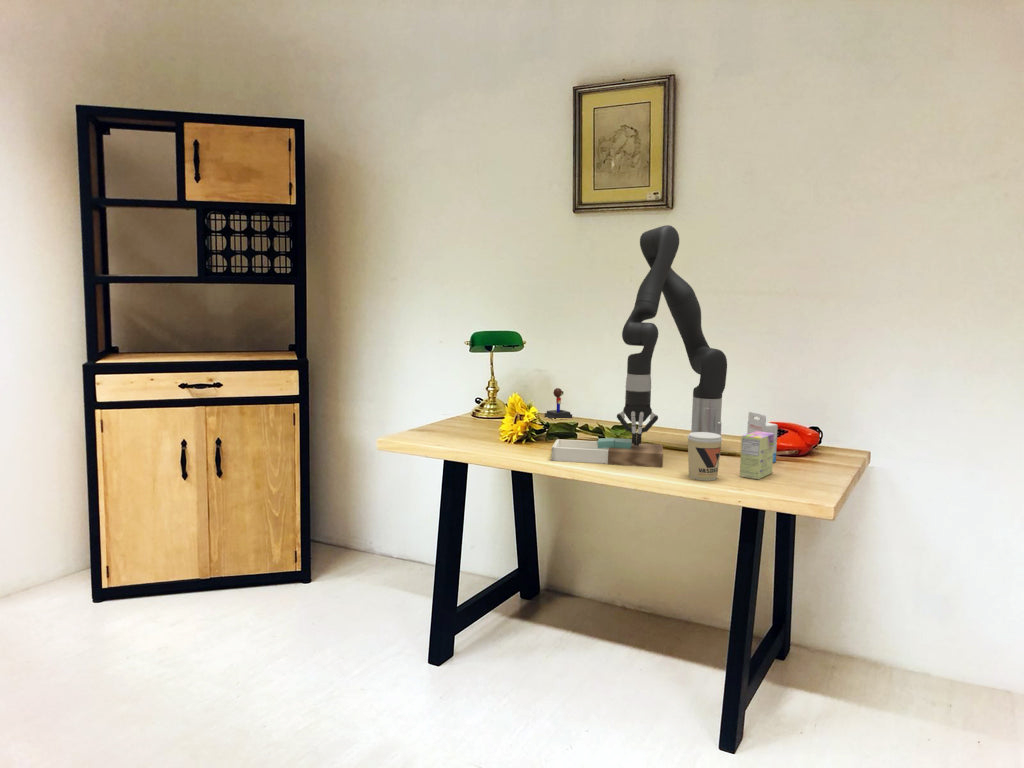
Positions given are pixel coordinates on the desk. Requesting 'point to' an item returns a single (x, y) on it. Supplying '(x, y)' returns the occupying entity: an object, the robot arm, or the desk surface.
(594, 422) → the desk surface
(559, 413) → the figurine
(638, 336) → the robot arm
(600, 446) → the tile
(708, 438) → the coffee cup
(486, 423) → the desk surface
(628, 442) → the tile
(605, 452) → the tray
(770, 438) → the box
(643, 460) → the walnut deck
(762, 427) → the ink box
